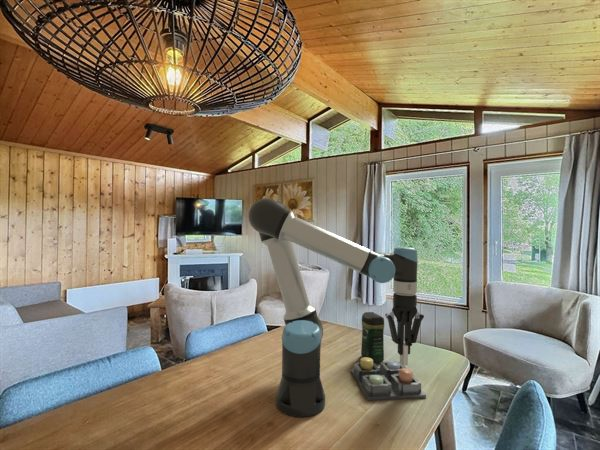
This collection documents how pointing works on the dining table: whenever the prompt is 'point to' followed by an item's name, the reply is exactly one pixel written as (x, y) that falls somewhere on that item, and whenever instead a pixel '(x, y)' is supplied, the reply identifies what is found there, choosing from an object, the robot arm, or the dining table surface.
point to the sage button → (376, 379)
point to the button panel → (386, 383)
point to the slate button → (393, 365)
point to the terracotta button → (405, 375)
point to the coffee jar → (372, 337)
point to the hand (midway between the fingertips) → (403, 363)
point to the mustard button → (366, 363)
